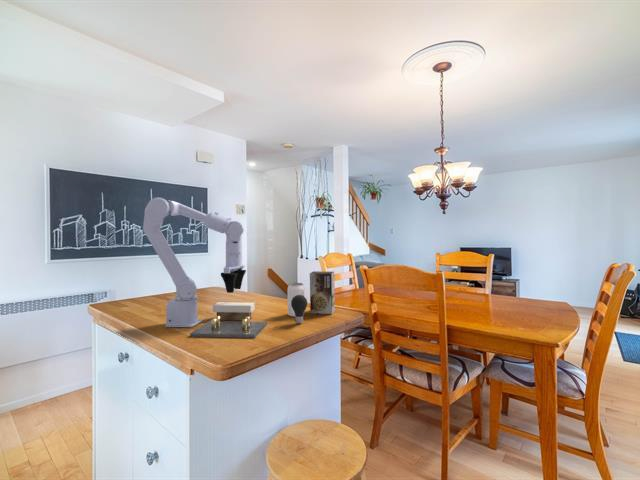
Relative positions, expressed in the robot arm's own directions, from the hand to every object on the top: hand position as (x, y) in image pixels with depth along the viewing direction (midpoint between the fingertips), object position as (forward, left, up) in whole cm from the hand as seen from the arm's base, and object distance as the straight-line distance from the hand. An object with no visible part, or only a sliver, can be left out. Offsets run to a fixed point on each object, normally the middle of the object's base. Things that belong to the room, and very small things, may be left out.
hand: (234, 290), depth 112 cm
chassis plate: (+4, -14, -10) cm, 18 cm away
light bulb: (+25, -5, -11) cm, 28 cm away
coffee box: (+32, +12, -11) cm, 36 cm away
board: (0, 0, -7) cm, 7 cm away
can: (+22, +7, -11) cm, 25 cm away
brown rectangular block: (0, 0, -10) cm, 10 cm away
